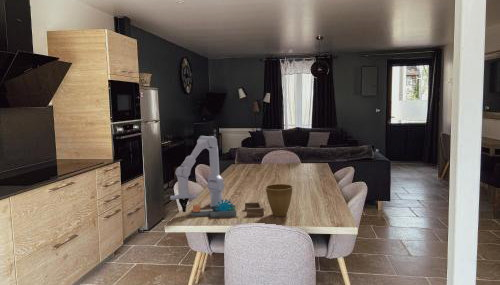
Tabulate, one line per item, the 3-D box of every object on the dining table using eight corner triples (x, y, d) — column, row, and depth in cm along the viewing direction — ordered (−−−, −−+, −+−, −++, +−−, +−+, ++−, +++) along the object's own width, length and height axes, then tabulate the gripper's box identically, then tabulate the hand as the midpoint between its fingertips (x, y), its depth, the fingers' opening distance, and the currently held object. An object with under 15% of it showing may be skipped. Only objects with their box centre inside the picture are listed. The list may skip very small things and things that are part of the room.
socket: (192, 211, 219) (192, 206, 219) (235, 209, 221) (235, 204, 221) (190, 218, 205) (190, 213, 205) (236, 216, 207) (236, 211, 207)
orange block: (193, 213, 214) (193, 204, 214) (213, 212, 215) (212, 204, 215) (193, 215, 210) (192, 206, 210) (212, 214, 211) (212, 205, 211)
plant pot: (290, 210, 217) (290, 183, 216) (294, 218, 202) (294, 189, 201) (265, 211, 217) (264, 184, 215) (267, 219, 202) (266, 190, 200)
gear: (213, 212, 211) (218, 197, 217) (214, 217, 216) (219, 202, 222) (232, 215, 209) (236, 200, 215) (233, 220, 214) (237, 205, 220)
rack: (244, 209, 222) (244, 202, 221) (260, 208, 223) (260, 201, 222) (246, 216, 208) (246, 209, 208) (263, 215, 209) (263, 208, 208)
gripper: (169, 190, 206) (170, 214, 207) (196, 188, 207) (196, 213, 208) (170, 187, 213) (171, 210, 214) (196, 186, 214) (197, 209, 215)
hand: (184, 211), depth 212 cm, fingers closed
